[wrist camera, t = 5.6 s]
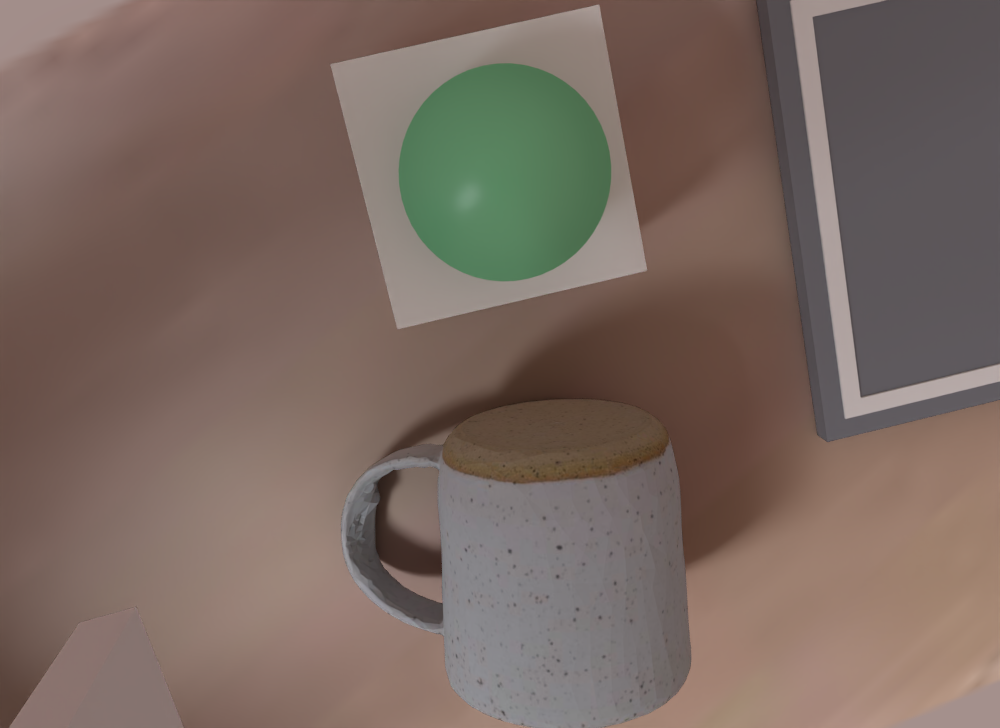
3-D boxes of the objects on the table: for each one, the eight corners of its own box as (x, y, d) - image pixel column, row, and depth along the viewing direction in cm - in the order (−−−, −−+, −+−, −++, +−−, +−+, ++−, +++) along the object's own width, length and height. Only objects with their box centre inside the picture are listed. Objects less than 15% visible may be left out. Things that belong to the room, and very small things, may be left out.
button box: (398, 299, 30) (397, 329, 25) (343, 77, 28) (329, 64, 23) (608, 250, 30) (647, 270, 25) (566, 27, 29) (599, 4, 24)
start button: (425, 289, 24) (426, 302, 22) (377, 94, 23) (375, 89, 21) (611, 246, 24) (628, 255, 22) (573, 50, 23) (589, 41, 21)
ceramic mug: (644, 376, 31) (713, 448, 24) (656, 596, 33) (723, 727, 26) (330, 410, 31) (300, 495, 23) (360, 631, 33) (341, 776, 25)
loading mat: (817, 434, 32) (828, 442, 32) (754, -14, 29) (765, -19, 28) (1167, 349, 33) (1188, 354, 32) (1150, -102, 29) (1172, -110, 28)
